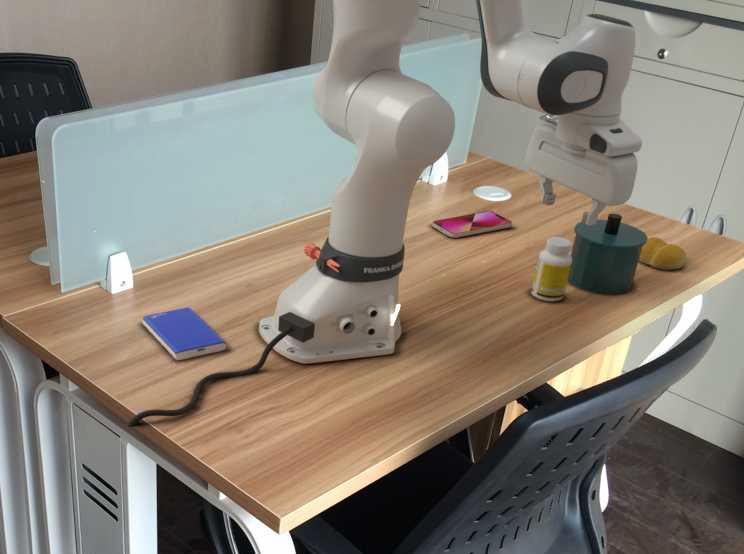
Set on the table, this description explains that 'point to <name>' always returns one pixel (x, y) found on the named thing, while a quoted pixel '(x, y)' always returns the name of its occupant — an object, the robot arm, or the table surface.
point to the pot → (602, 267)
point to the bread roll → (662, 254)
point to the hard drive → (183, 333)
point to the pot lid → (611, 233)
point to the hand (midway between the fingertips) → (567, 213)
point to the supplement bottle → (552, 270)
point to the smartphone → (471, 224)
